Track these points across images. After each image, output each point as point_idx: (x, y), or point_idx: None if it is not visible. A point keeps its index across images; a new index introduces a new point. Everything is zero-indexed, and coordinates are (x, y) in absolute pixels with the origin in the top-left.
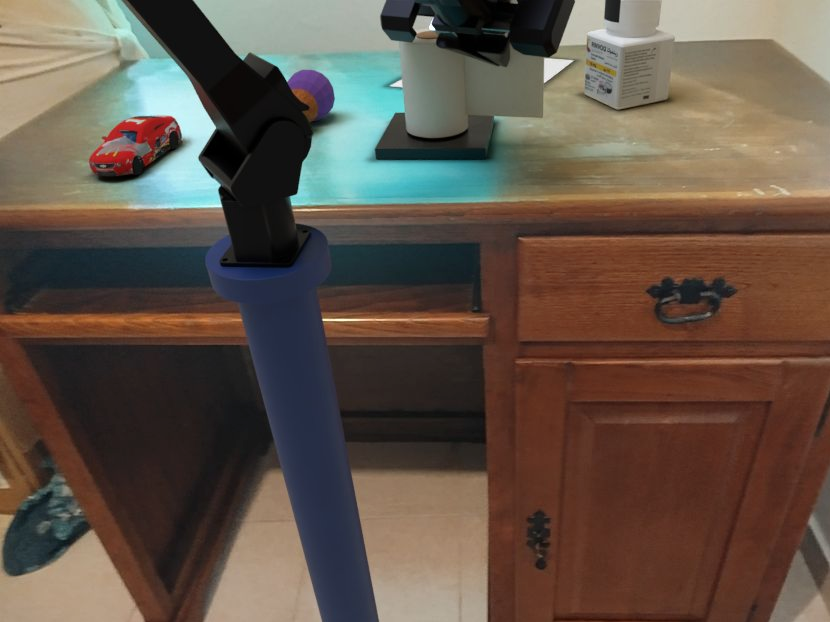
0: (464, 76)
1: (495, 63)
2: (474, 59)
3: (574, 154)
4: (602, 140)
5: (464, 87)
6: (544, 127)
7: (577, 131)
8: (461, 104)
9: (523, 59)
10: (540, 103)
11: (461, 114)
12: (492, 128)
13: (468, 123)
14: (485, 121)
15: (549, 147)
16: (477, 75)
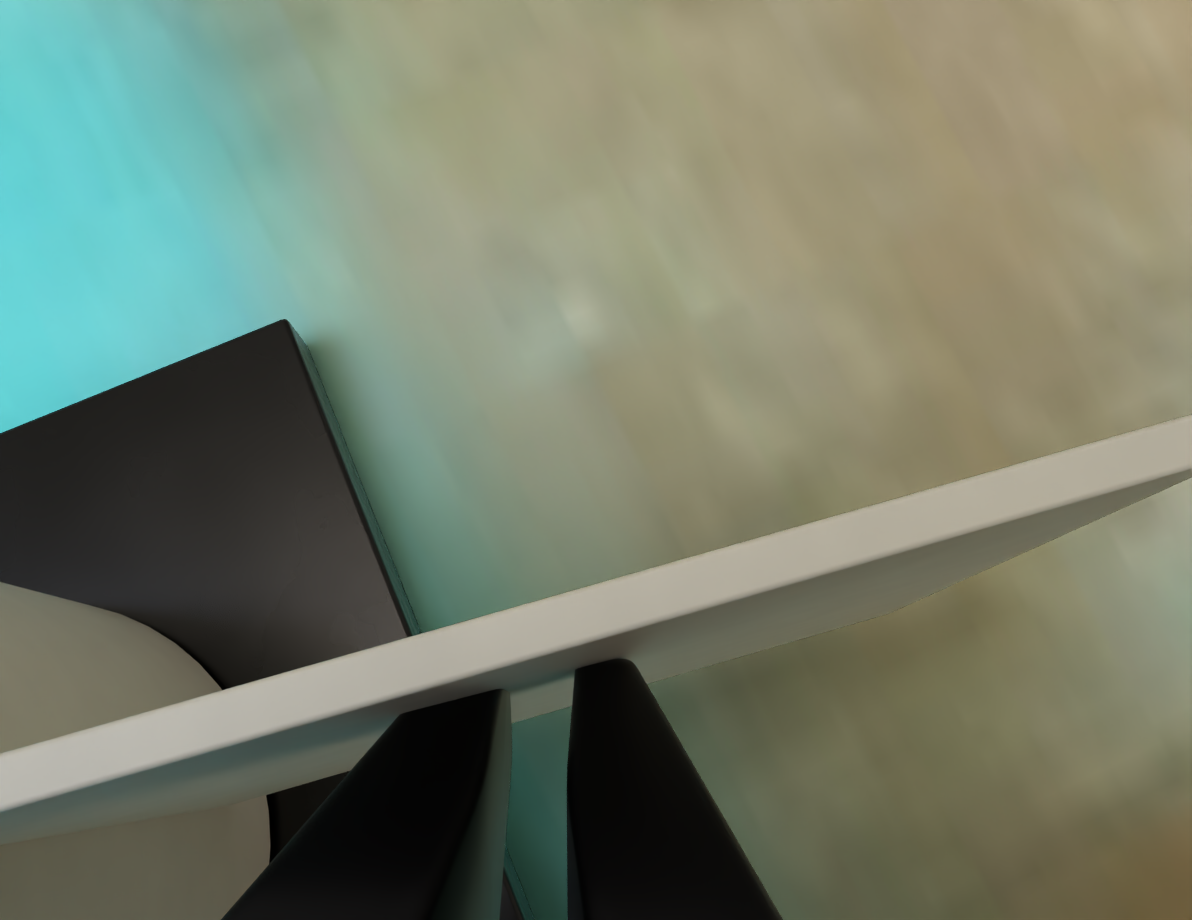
0: (67, 845)
1: (500, 883)
2: (108, 808)
3: (1130, 704)
4: (1166, 380)
5: (126, 854)
6: (688, 305)
7: (932, 290)
8: (181, 916)
9: (818, 600)
10: (902, 604)
11: (216, 915)
12: (365, 496)
13: (208, 631)
14: (317, 538)
15: (907, 649)
16: (224, 787)
